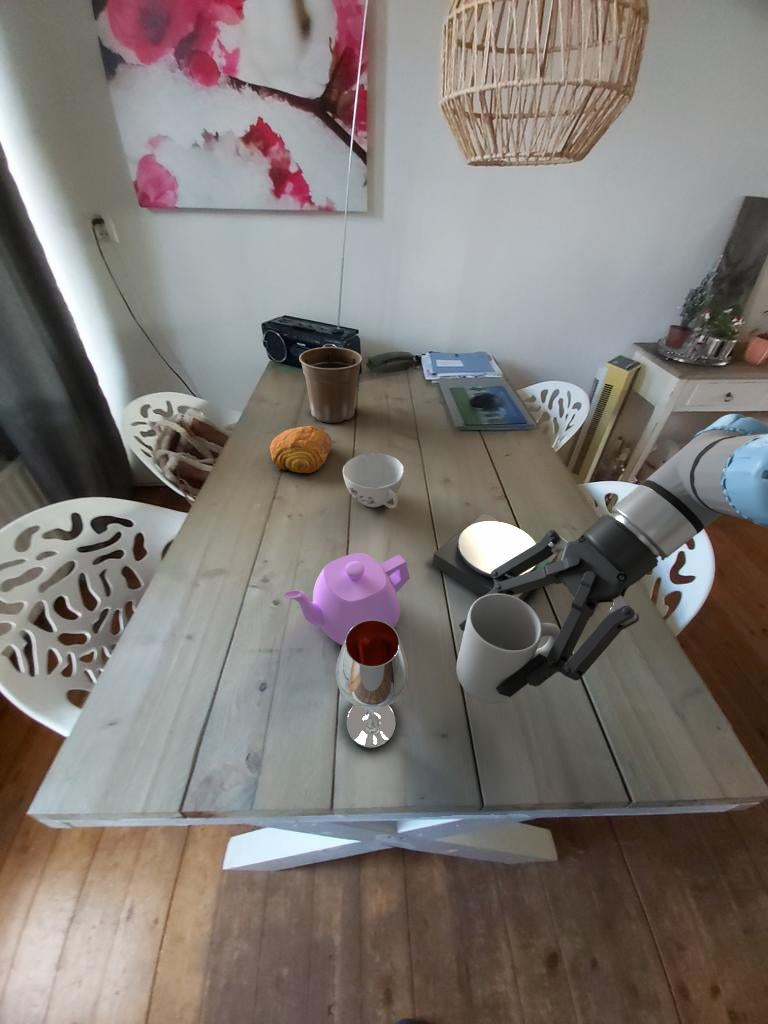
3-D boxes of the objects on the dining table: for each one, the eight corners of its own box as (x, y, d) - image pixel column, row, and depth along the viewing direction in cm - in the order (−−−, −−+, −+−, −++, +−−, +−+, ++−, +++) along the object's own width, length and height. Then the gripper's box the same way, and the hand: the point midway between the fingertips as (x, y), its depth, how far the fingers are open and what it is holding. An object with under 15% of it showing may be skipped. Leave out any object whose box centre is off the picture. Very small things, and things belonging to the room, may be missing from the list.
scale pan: (552, 550, 78) (553, 546, 78) (511, 593, 70) (513, 590, 70) (485, 514, 85) (486, 511, 85) (442, 550, 77) (442, 547, 77)
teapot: (278, 610, 71) (268, 562, 64) (386, 568, 79) (388, 521, 72) (309, 678, 62) (302, 630, 55) (427, 622, 70) (434, 575, 63)
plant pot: (361, 400, 132) (361, 346, 121) (363, 427, 119) (362, 368, 109) (306, 401, 130) (301, 346, 120) (302, 427, 118) (296, 368, 108)
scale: (554, 564, 81) (560, 550, 78) (509, 615, 71) (514, 601, 69) (481, 524, 89) (484, 510, 87) (432, 565, 80) (434, 550, 77)
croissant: (337, 452, 113) (338, 422, 109) (322, 479, 99) (322, 446, 95) (283, 445, 114) (281, 415, 110) (260, 471, 101) (257, 438, 96)
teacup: (333, 492, 96) (332, 461, 91) (383, 476, 101) (384, 446, 96) (367, 532, 86) (367, 500, 81) (420, 513, 91) (423, 481, 86)
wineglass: (414, 735, 56) (426, 655, 45) (357, 769, 53) (355, 692, 42) (382, 683, 62) (386, 600, 50) (329, 711, 58) (320, 629, 47)
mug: (465, 708, 53) (479, 656, 47) (449, 648, 60) (459, 595, 53) (558, 698, 55) (586, 646, 48) (532, 640, 61) (553, 587, 54)
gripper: (725, 618, 43) (547, 746, 49) (582, 496, 59) (459, 603, 64) (713, 596, 39) (517, 741, 44) (560, 469, 54) (429, 588, 60)
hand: (483, 659), depth 54 cm, fingers closed on mug, 8 cm apart
